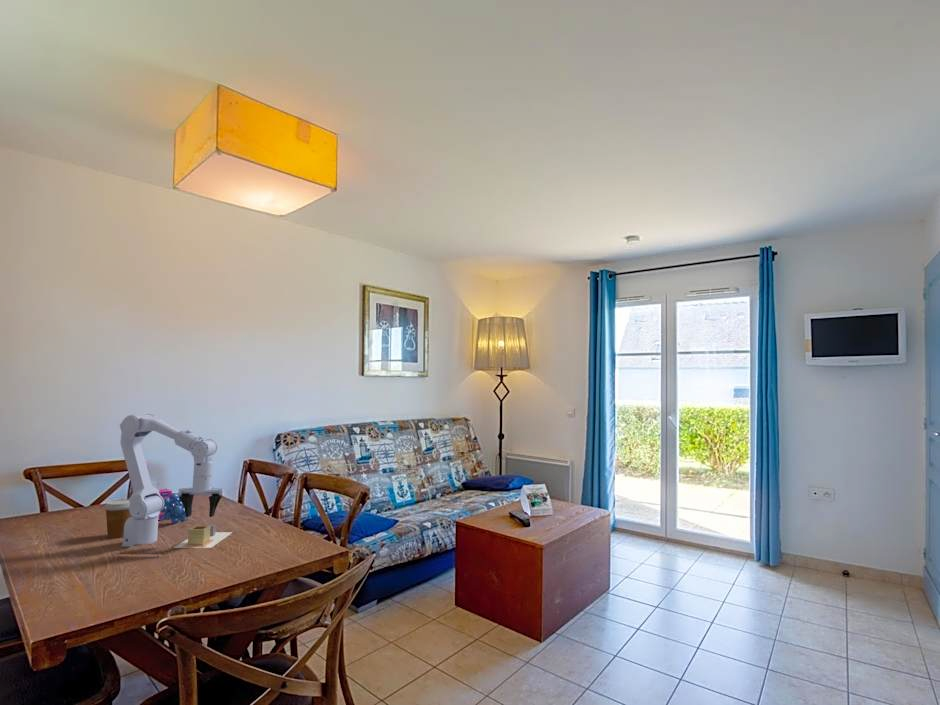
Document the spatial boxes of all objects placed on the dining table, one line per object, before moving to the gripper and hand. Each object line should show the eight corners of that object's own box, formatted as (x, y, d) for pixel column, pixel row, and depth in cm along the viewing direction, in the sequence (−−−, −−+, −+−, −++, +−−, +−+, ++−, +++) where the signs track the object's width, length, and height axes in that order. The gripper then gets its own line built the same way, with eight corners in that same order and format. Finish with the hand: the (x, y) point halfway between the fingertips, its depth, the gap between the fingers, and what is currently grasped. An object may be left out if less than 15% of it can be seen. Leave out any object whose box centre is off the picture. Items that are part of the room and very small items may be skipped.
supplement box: (154, 521, 199) (156, 492, 200) (148, 519, 203) (150, 490, 204) (170, 519, 204) (172, 490, 205) (164, 516, 207) (166, 488, 208)
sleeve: (187, 545, 168) (188, 529, 169) (194, 540, 173) (195, 525, 174) (203, 545, 169) (204, 529, 169) (209, 540, 174) (210, 525, 174)
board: (173, 550, 166) (174, 536, 166) (198, 534, 184) (199, 522, 184) (210, 550, 167) (211, 536, 167) (232, 534, 185) (233, 522, 185)
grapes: (160, 528, 191) (163, 496, 191) (157, 524, 196) (159, 493, 196) (195, 523, 198) (196, 492, 199) (190, 519, 203) (192, 489, 204)
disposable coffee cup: (95, 537, 177) (98, 503, 178) (121, 530, 186) (123, 497, 187) (115, 540, 174) (118, 505, 175) (140, 533, 183) (143, 500, 184)
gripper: (229, 474, 177) (226, 513, 176) (186, 473, 176) (184, 513, 175) (220, 477, 170) (218, 518, 169) (176, 477, 169) (173, 518, 168)
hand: (200, 516), depth 172 cm, fingers open, 7 cm apart
